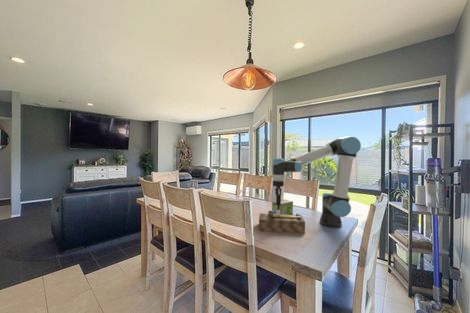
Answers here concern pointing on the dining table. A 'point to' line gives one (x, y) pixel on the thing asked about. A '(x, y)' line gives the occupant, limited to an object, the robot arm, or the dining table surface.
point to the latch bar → (285, 216)
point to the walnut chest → (281, 223)
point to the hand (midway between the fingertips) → (278, 213)
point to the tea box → (284, 207)
